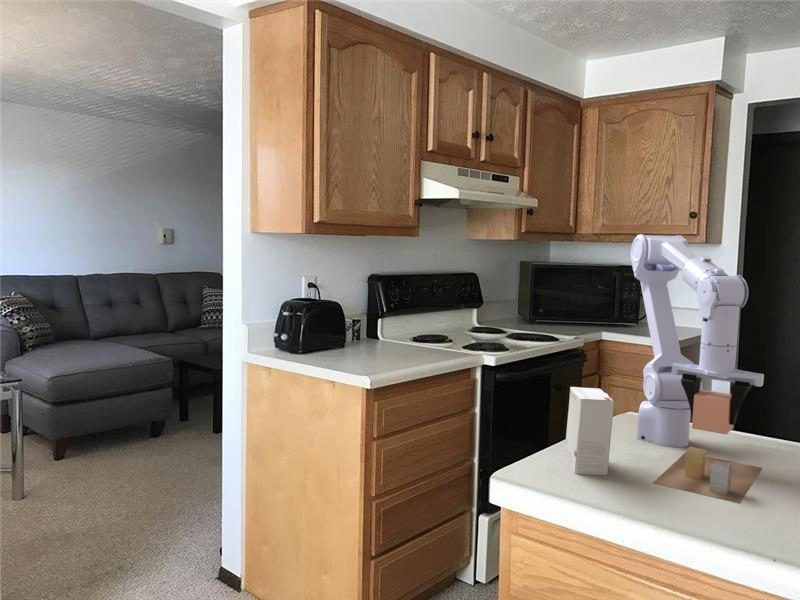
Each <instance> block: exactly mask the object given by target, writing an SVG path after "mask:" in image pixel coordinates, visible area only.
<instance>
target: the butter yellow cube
mask: <svg viewBox="0 0 800 600" xmlns="http://www.w3.org/2000/svg"><path fill="white" fill-rule="evenodd" d="M685 452H686V459H685V474H684V476H688V477H692V478H697V479H701V478H702V477H703V476H704V472H705V458H706V457H707V449H704V448H700V447H695V446H689V447H688V448H687V449H686V450H685Z"/></svg>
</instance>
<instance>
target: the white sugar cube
mask: <svg viewBox="0 0 800 600" xmlns="http://www.w3.org/2000/svg"><path fill="white" fill-rule="evenodd" d="M731 474H732V463H727V462H722V461H717V460H714V461H713V462H712V464H711V472H710V486H709V492H714V493H718V494H722V495H728V493H729V492H730V487H731Z"/></svg>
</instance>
